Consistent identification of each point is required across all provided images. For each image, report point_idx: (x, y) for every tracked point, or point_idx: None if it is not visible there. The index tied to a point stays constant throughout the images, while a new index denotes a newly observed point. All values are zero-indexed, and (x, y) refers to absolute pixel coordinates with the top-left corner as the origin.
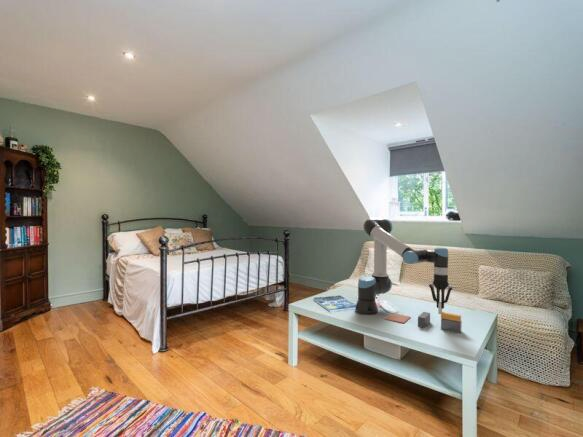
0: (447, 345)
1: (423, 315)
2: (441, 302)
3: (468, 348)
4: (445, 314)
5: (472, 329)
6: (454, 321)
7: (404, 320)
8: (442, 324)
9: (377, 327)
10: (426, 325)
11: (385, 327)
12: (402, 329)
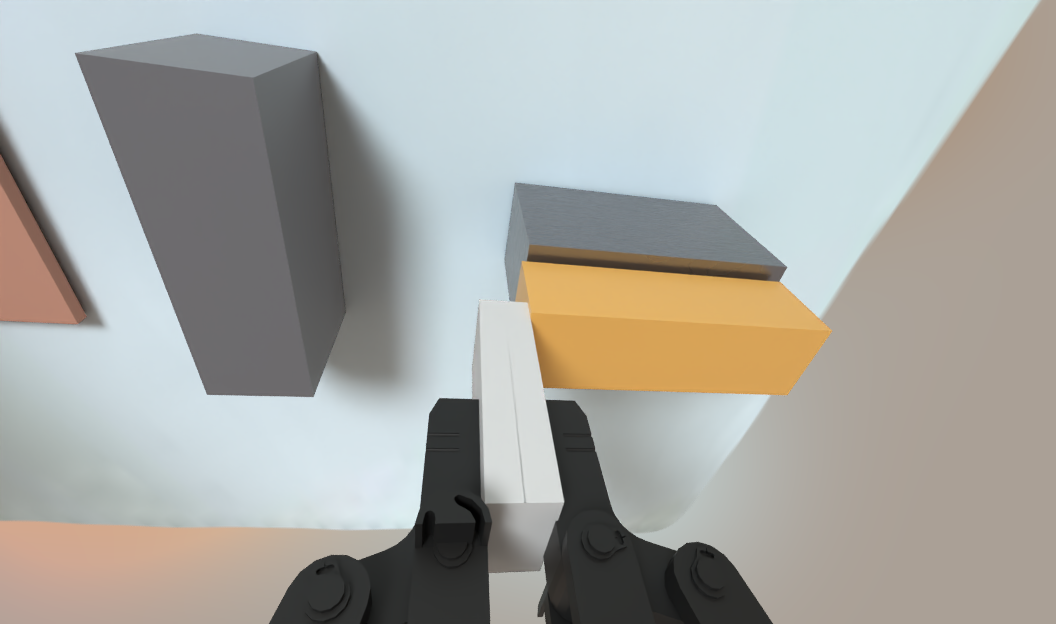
0: None
1: (235, 308)
2: (549, 592)
3: (679, 476)
4: (585, 380)
5: (890, 30)
6: None
7: (6, 240)
8: None
9: (9, 496)
10: (336, 258)
11: (53, 468)
12: (196, 437)
